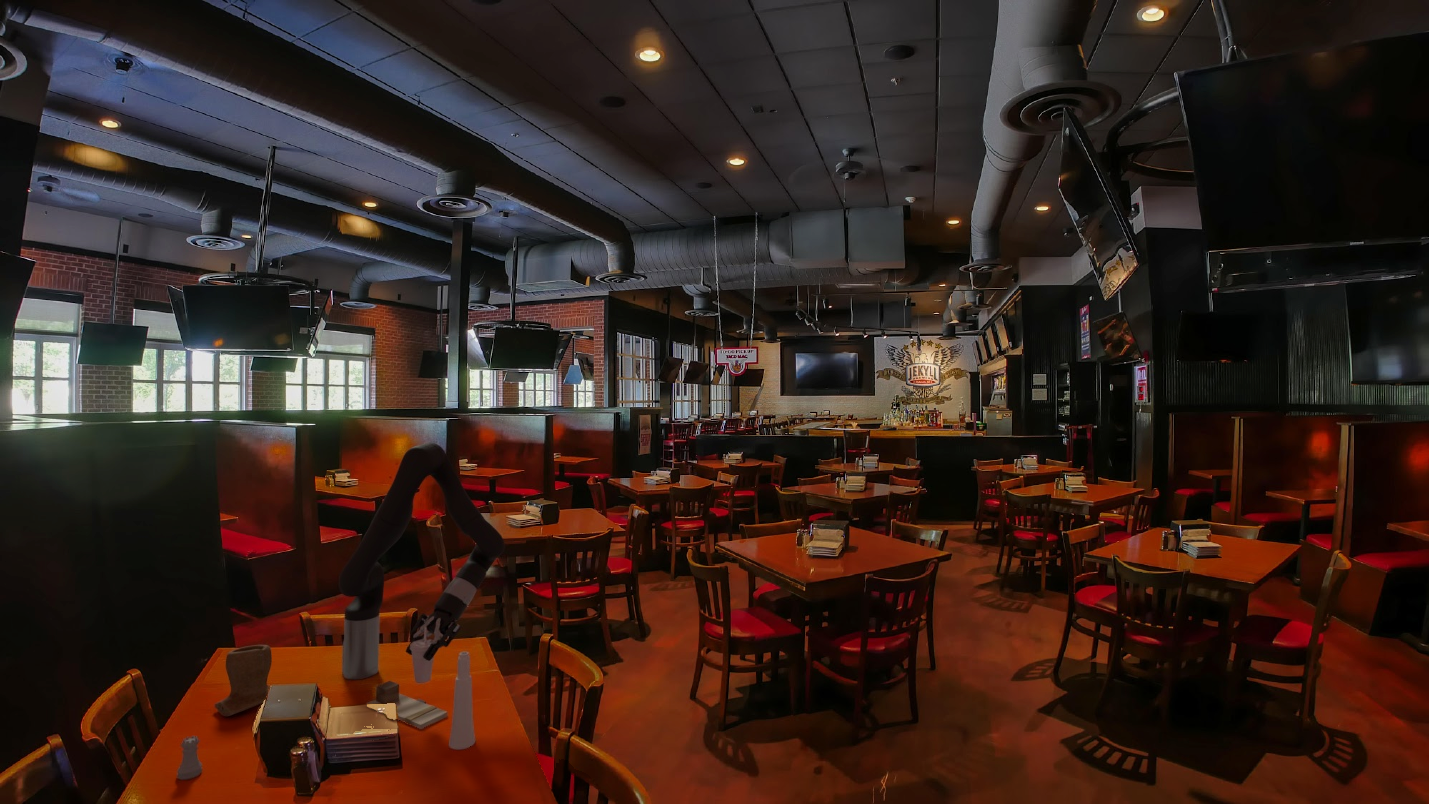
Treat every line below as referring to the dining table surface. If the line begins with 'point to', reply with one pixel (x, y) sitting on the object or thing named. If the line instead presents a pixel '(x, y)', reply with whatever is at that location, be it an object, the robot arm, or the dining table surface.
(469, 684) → the cosmetic bottle
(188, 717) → the dining table surface
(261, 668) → the brown boot
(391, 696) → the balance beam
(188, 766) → the rook chess piece
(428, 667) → the white drink cup
